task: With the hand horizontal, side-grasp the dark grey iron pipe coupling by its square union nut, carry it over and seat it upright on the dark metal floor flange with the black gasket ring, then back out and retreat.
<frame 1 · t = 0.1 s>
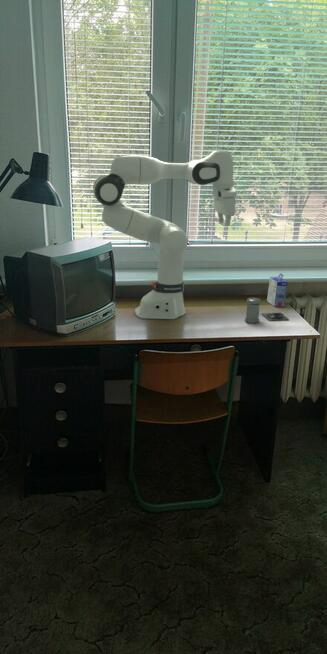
hand: (224, 224, 208), 39 cm above the table, tool pointing down, fingers open, 8 cm apart
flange: (275, 317, 214), on the table
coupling: (252, 321, 209), on the table
ink cartridge box: (275, 304, 233), on the table
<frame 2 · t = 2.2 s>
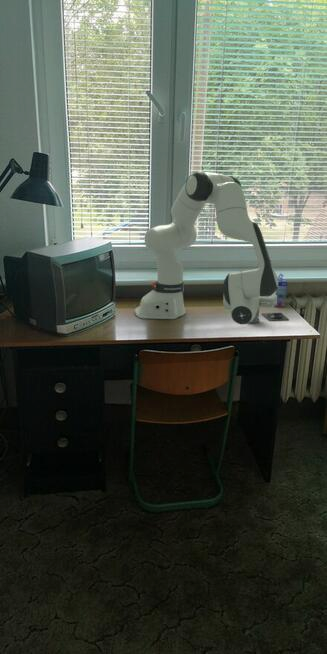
hand: (251, 293, 192), 16 cm above the table, tool horizontal, fingers open, 8 cm apart
nothing on the table moved.
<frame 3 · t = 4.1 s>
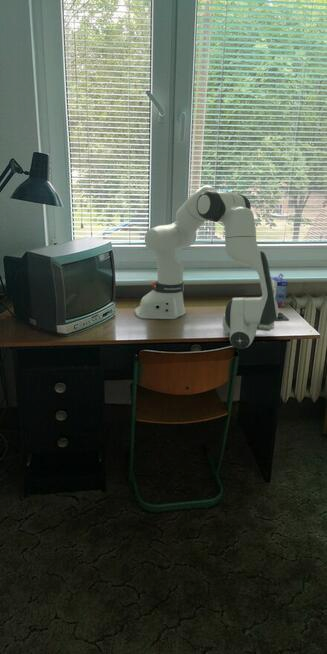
hand: (250, 315, 199), 5 cm above the table, tool horizontal, fingers open, 8 cm apart
nothing on the table moved.
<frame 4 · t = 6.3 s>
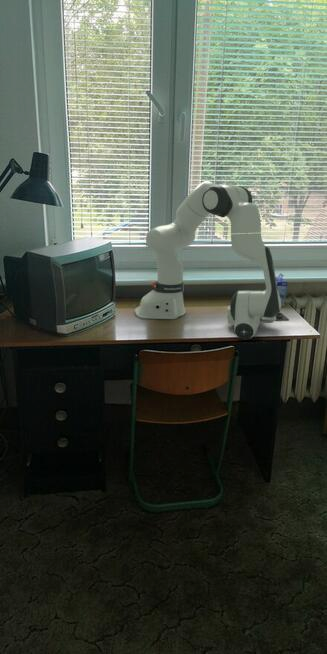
hand: (253, 308, 207), 6 cm above the table, tool horizontal, fingers closed on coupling, 5 cm apart
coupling: (252, 321, 209), on the table, touching gripper
everything else where it was.
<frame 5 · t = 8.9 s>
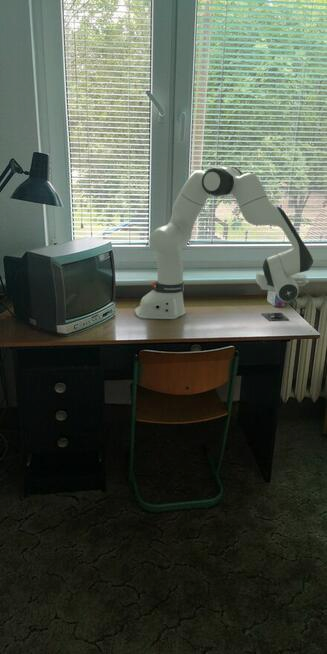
hand: (279, 274, 208), 19 cm above the table, tool horizontal, fingers closed on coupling, 5 cm apart
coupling: (278, 287, 209), point 14 cm above the table, touching gripper
everything else where it was.
when the fingers open (7 cm above the table, at t = 11.6 s): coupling stays where it is, resting on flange.
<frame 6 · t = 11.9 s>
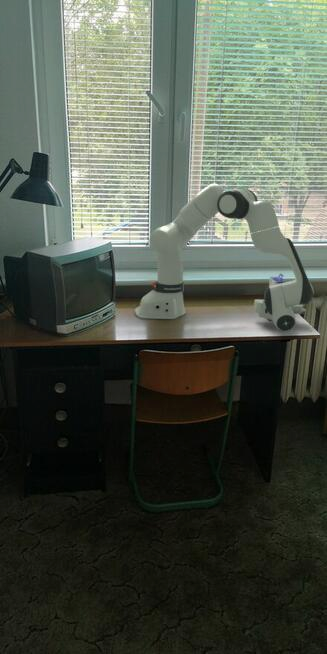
hand: (276, 300, 213), 7 cm above the table, tool horizontal, fingers open, 8 cm apart
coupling: (275, 315, 214), point 1 cm above the table, touching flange
everything else where it was.
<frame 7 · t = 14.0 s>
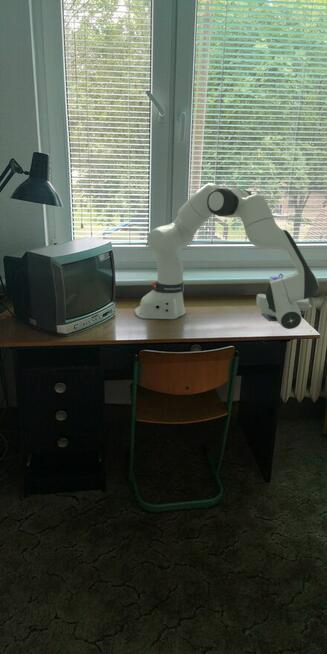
hand: (280, 295, 199), 13 cm above the table, tool horizontal, fingers open, 8 cm apart
nothing on the table moved.
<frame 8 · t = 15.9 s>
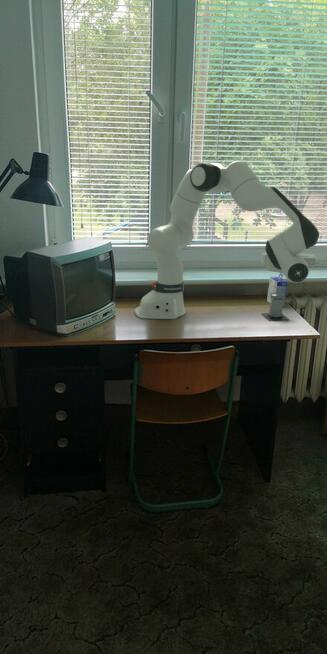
hand: (285, 255, 193), 30 cm above the table, tool horizontal, fingers open, 8 cm apart
nothing on the table moved.
at the end: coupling 0.0 cm from the target spot, point 0.7 cm above the table; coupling tilted 0°; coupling touching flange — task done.
